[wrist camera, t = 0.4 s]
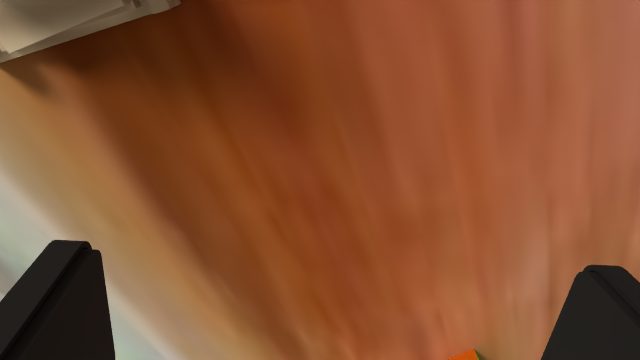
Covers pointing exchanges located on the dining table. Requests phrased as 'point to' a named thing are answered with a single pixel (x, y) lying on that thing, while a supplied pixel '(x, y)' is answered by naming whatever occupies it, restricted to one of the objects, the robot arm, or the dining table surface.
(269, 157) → the dining table surface
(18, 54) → the rack
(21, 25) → the beige rectangular block
